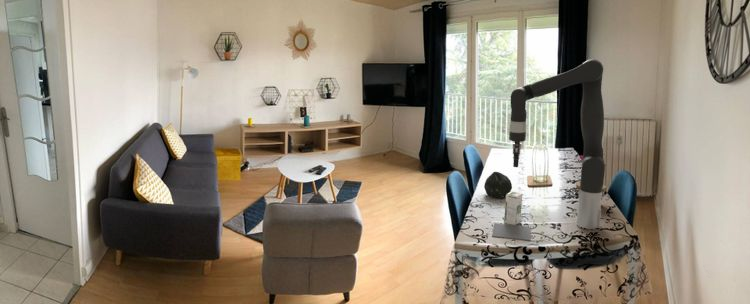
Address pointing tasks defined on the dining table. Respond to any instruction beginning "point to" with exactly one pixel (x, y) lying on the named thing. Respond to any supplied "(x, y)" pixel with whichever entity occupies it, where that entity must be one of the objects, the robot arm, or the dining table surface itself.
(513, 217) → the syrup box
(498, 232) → the mat
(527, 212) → the dining table surface
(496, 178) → the squash
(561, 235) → the dining table surface
